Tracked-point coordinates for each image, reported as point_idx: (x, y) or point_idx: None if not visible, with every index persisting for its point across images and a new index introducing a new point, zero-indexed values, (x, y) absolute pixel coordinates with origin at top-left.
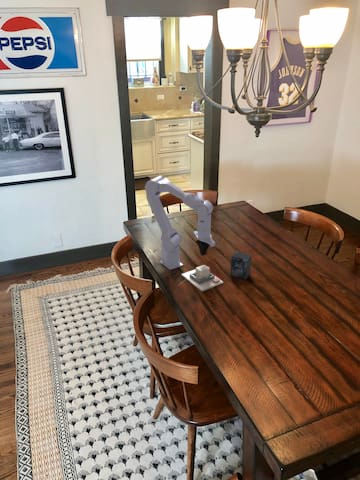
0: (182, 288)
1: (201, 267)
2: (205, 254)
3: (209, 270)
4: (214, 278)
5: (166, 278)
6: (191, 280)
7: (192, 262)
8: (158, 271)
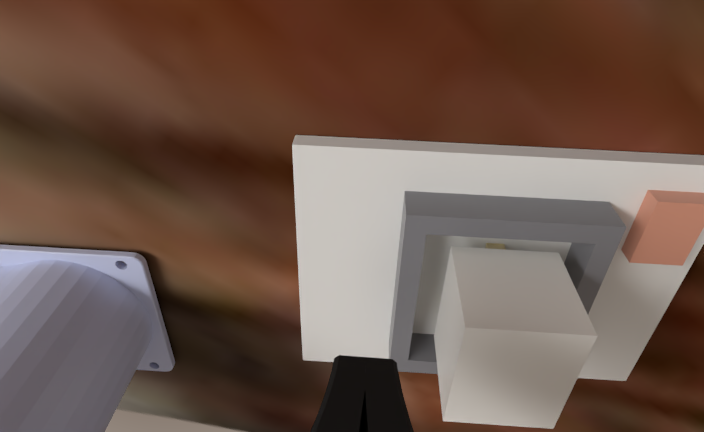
0: None
1: (493, 386)
2: (397, 375)
3: (582, 310)
4: (609, 204)
5: (279, 423)
6: None
7: (106, 136)
8: (157, 413)
